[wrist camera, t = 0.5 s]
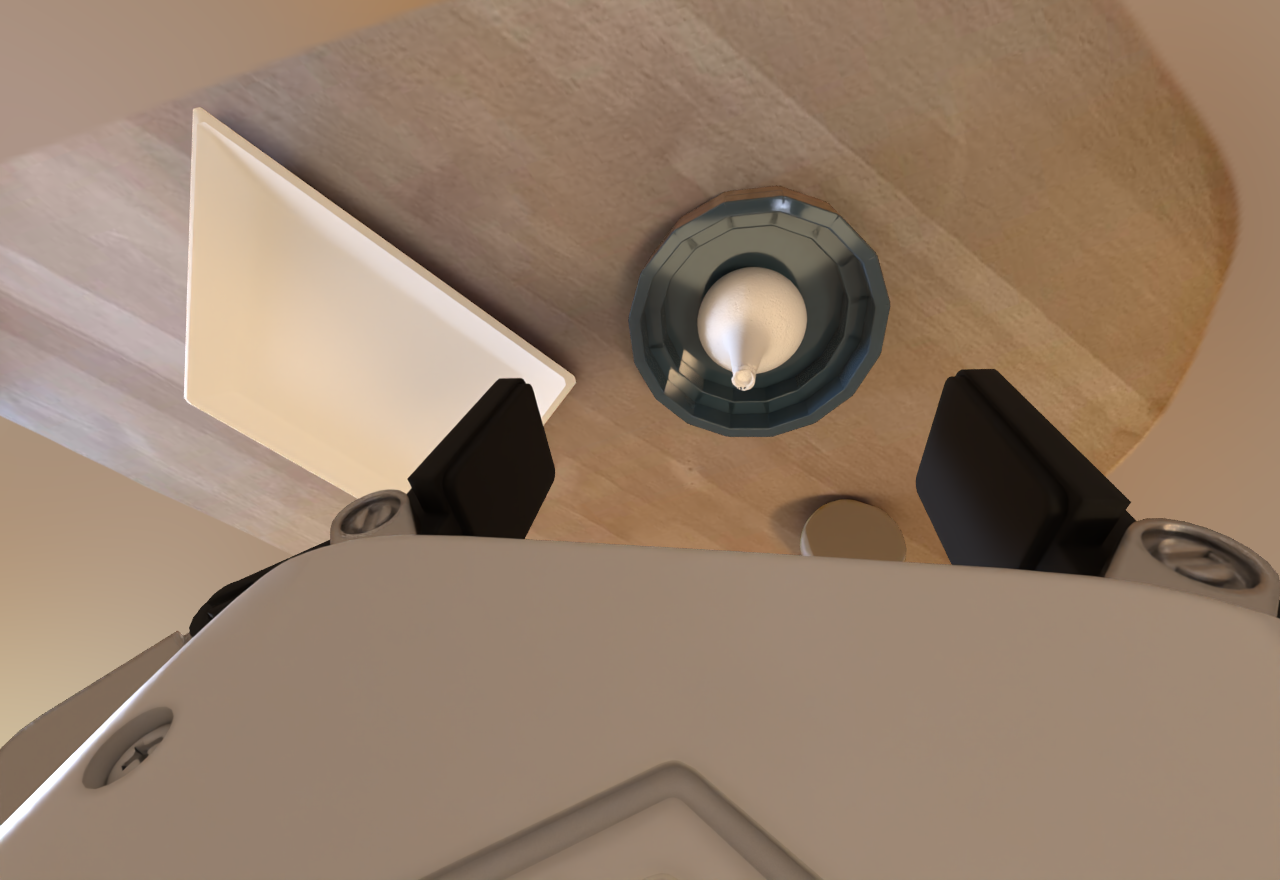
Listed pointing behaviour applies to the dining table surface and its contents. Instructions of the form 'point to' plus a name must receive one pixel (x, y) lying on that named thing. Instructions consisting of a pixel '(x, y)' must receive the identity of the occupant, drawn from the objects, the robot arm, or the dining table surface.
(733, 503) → the dining table surface
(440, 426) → the plate
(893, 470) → the dining table surface
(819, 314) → the bowl
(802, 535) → the mug
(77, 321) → the dining table surface
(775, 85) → the dining table surface
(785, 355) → the garlic bulb
